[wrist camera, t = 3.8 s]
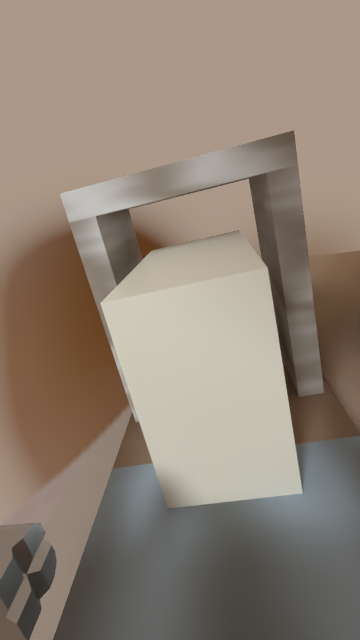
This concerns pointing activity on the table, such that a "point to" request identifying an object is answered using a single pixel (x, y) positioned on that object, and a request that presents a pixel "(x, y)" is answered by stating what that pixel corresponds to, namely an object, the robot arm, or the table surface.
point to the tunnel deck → (235, 516)
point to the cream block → (206, 371)
